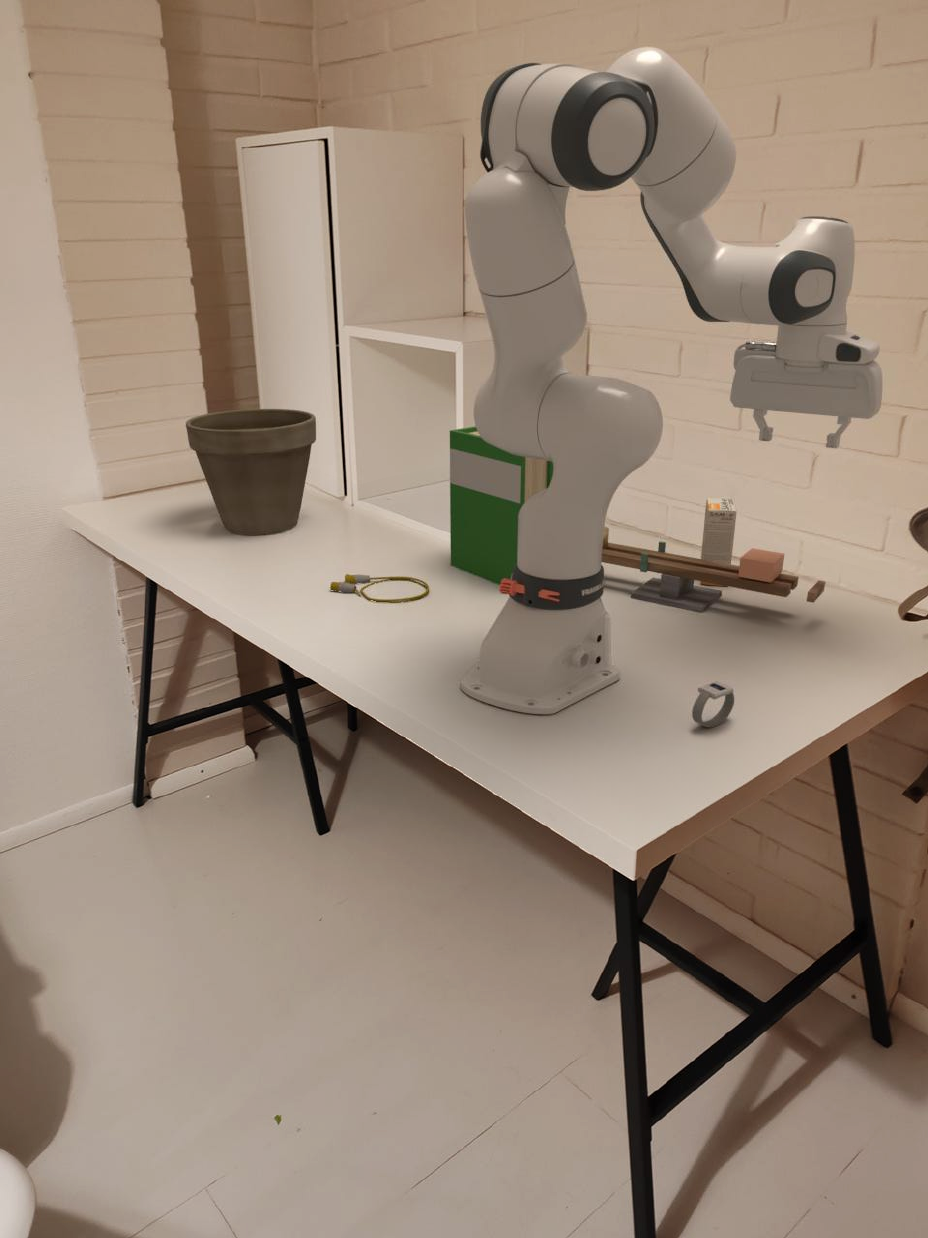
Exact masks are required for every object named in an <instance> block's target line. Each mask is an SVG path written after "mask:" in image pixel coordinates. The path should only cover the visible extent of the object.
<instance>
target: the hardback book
mask: <svg viewBox="0 0 928 1238" xmlns="http://www.w3.org/2000/svg"><path fill="white" fill-rule="evenodd" d="M553 468H554V467H553V462H551V461H546V460H540V459H535V458H529V457H523V456H518V455H513V454H511V453H509V452H506V451H504V450H502V449H499V448H497V447H495V446H493V445H491V444H489V443H487V442H486V441H484V440H483V439H482V438H481V436H480V435H479V433H478V431H477V428H476V425H475V426H471V427H470V426H469V427H464V428H458V429H451V430H449V475H450V476H449V491H450V492H449V496H450V497H449V498H450V499H449V503H450V505H449V507H450V508H449V512H450V518H449V519H450V522H449V523H450V526H449V527H450V566H451V567H453V568H456V569H459V570H461V571H463V572H465V573H469V574H471V575H473V576H476V577H478V578H481V579H484V580H485V581H489V582H490V583H491V582H492V583H494V584H497V585H499V586H500V583H502V582H501V580H502V579H503V578H506V579H509V580H511V575H512V573H513V570H514V566H515V564H516V563H517V550H518V515H519V511H520V509H521V507H522V506H523V504H524V503H525V502H526V501H527V500H528V499H529V498H530V497H531V496H532V495H534V494H536V493H538V492H540V491H542V490H544V489H546V488H548V487H549V485H550V483H551V480H552V475H553Z"/></svg>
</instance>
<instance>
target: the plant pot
mask: <svg viewBox="0 0 928 1238" xmlns="http://www.w3.org/2000/svg"><path fill="white" fill-rule="evenodd" d="M316 420H317V419H316V415H315V414H313V413H312V412H309V411H303V410H296V409H289V408H288V409H287V408H252V409H251V408H250V409H249V408H247V409H235V410H233V409H232V410H225V411H224V410H223V411H217V412H209V413H205V414H201V415H196V416H194V417H192V418H190V419H188V420H186V422H185V428H186V434H187V440H188V444H189V448H190V449H191V450H192V451H195V454H196V456H197V459H198V462H199V465H200V468H201V471H202V473H203V475H204V479H205V481H206V483H207V484H206V485H207V486H208V489H209V491H210V494H211V497H212V499H213V503H214V505H215V507H216V510H217V512H218V516H219V518H220V520H221V522H222V525H223V527H224V528H225V530H227V531H228V532H230V533H234V534H238V535H246V536H247V535H251V536H253V535H254V536H255V535H256V536H258V535H268V534H269V535H270V534H275V533H281V532H285V531H288V530H289V529H292V528H294V527H295V526H296V525H297V524H298V521H299V517H300V513H301V509H302V503H303V502H302V501H303V497H304V490H305V487H306V482H307V481H306V480H307V474H308V470H309V464H310V458H311V454H312V453H311V452H312V451H311V450H312V447H313V446H312V445H313V444H314V443H316V440H317V421H316Z"/></svg>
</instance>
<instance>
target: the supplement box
mask: <svg viewBox="0 0 928 1238" xmlns="http://www.w3.org/2000/svg"><path fill="white" fill-rule="evenodd" d="M705 501H706V502H705V510H704V511H705V512H704V522H703V533H702V542H701V552H700V559H703V560H709V561H714V562H720V563H725V564H731V565H732V558H733V548H734V539H735V533H736V532H735V529H736V520H737V513H738V512H737V508H736V504H735V499H731V498H716V497H715V498H714V497H713V498H712V497H707V498H706V500H705ZM700 585H704V586H705V585H706V586H714V587H715V586H718V587H720V586H721V587H725V586H724V585H718V584H713V583H708V582H703V581H700Z"/></svg>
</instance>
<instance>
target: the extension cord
mask: <svg viewBox="0 0 928 1238" xmlns="http://www.w3.org/2000/svg"><path fill="white" fill-rule="evenodd" d="M344 580H345V581H346V583H345V581H343V582H342V581H340V582H338V581H332V582H331V583H330V591H331V590H336V591H335V592H337V591H341V592H352V593H356V594H357V595H358V594H359V595H361V596H364V597H365V599H366V598H367V600H368V599H369V600H368V601H370V600H373V601H376V602H375V603H379V602H389V603H388V604H402V603H401V602H404V603H408V602H409V601H410V602H414V601H417V599H418V600H420V599H422V598H425V597H426V596H428V595H429V593H430V586H429V584H428V583H427V582H425V581H424V580H422V579H419V578H416V577H411V576H380V577H377V576H376V577H370V575H365V574H348V573H347V574H346V575H344ZM372 580H377V581H373V582H371V581H372ZM388 580H391V581H407V580H409V582H413V583H415V584H417V583H418V584H417V585H420V586H421V587H423V588H425V589H426V590H425V592H423V593H422V594H419V595H415V596H410V597H405V598H393V599H391V598H390V599H383V598H382V599H379V598H373V597H370V596H368V595H367V594H366V593H365V592H364V590H365V589H366V587H367V588H368V586H369V587H371V586H373V585H376V584H379V582H380V583H383V581H384V582H388ZM366 582H368V583H369V584H367V583H366ZM370 582H371V583H370ZM357 583H362V584H367V585H364V586H363V587H361V588H360V591H359V590H358V589H357V586H356V585H358V584H357ZM375 583H376V584H375ZM370 585H371V586H370ZM364 588H365V589H364ZM354 591H356V592H354ZM341 592H340V593H341ZM359 595H358V596H359ZM424 596H425V597H424ZM373 601H372V602H373Z"/></svg>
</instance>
